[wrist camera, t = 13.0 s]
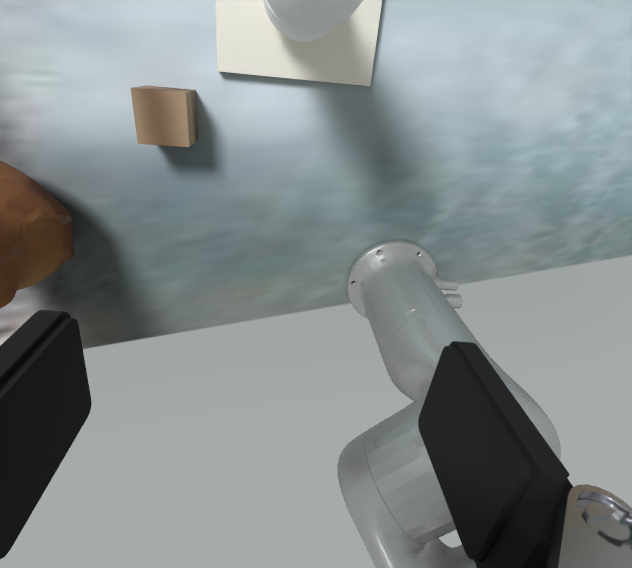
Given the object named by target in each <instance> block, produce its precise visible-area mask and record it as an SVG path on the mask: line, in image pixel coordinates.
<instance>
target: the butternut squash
mask: <svg viewBox="0 0 632 568" xmlns="http://www.w3.org/2000/svg"><path fill="white" fill-rule="evenodd" d="M73 257H74V250H73V224H72V217H71V214H70V213H69V212H68V210H67V209H66V208H65V207H64V206H63V205H62V204H61V203H59V202H58V201H57V200H56V199H55V198H54V197H53V196H52V195H51V194H49V193H48V192H47V191H46V190H45V189H44V188H43V187H41V186H40V185H39V184H38V183H37V182H35V181H34V180H32V179H31V178H30V177H28V176H27V175H25V174H24V173H22V172H21V171H19V170H17V169H16V168H14V167H12V166H10V165H8V164H6V163H4V162H2V161H0V308H2V307H4V306H5V305H7V304H8V303H10V302H11V301H12V299H13V298H14V296H15V293H16V291H17V290H20V289H23V288H25V287H29V286H32V285H34V284H36V283H38V282H40V281H42V280H43V279H45V278H47V277H48V276H50V275H51V274H52V273H54V272H55V271H56V270H57V269H58V268H59V267H60V266H61V265H62V264H63V263H64V262H65V261H66V260H69V259H72V258H73Z"/></svg>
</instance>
